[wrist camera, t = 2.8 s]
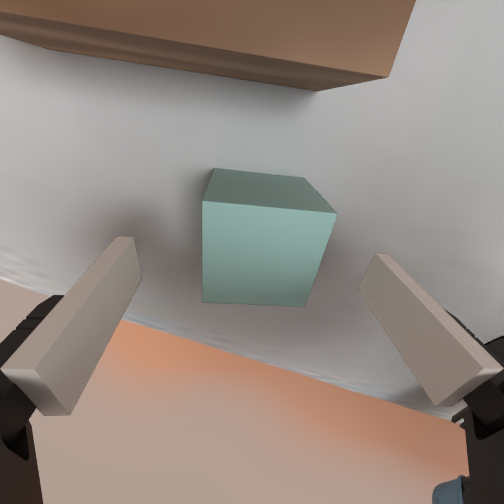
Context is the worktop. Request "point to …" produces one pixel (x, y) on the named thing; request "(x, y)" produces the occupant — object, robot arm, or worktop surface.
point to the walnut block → (224, 35)
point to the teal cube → (262, 238)
